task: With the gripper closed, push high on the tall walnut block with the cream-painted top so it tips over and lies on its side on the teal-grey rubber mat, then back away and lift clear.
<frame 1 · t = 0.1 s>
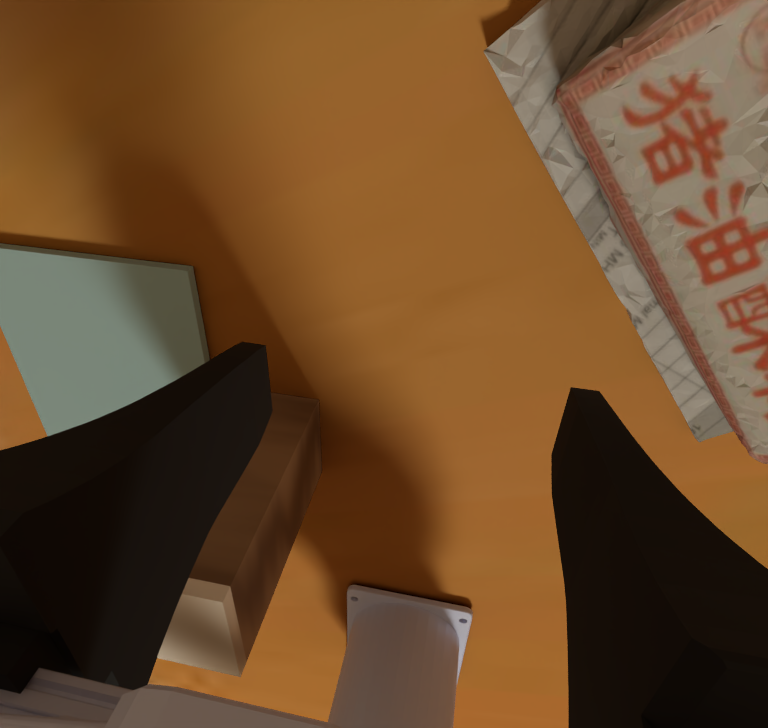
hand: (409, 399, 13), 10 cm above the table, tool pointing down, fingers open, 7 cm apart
walnut block: (274, 429, 28), on the table
mat: (122, 392, 29), on the table
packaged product: (741, 193, 19), on the table
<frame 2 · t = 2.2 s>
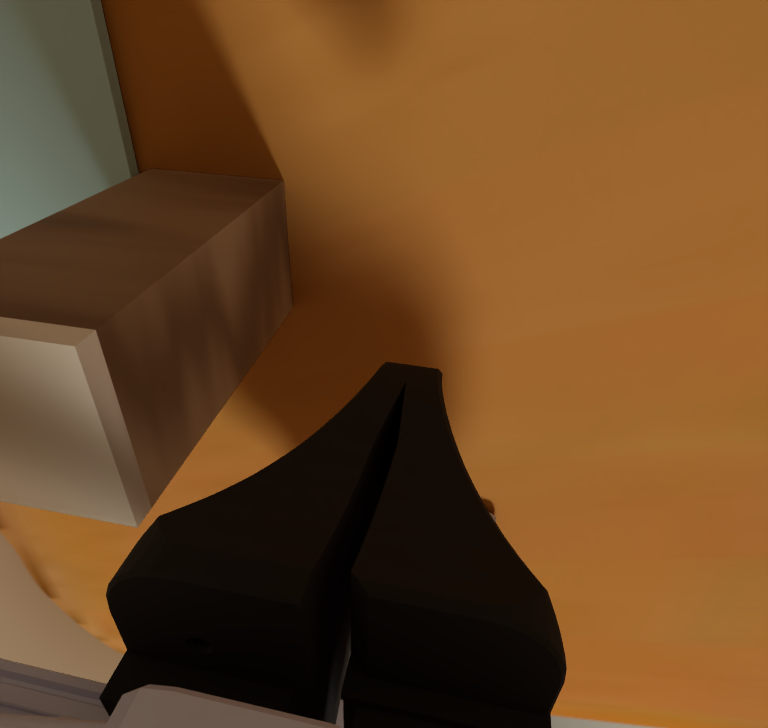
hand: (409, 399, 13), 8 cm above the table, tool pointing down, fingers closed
walnut block: (225, 241, 20), on the table
mat: (16, 195, 21), on the table
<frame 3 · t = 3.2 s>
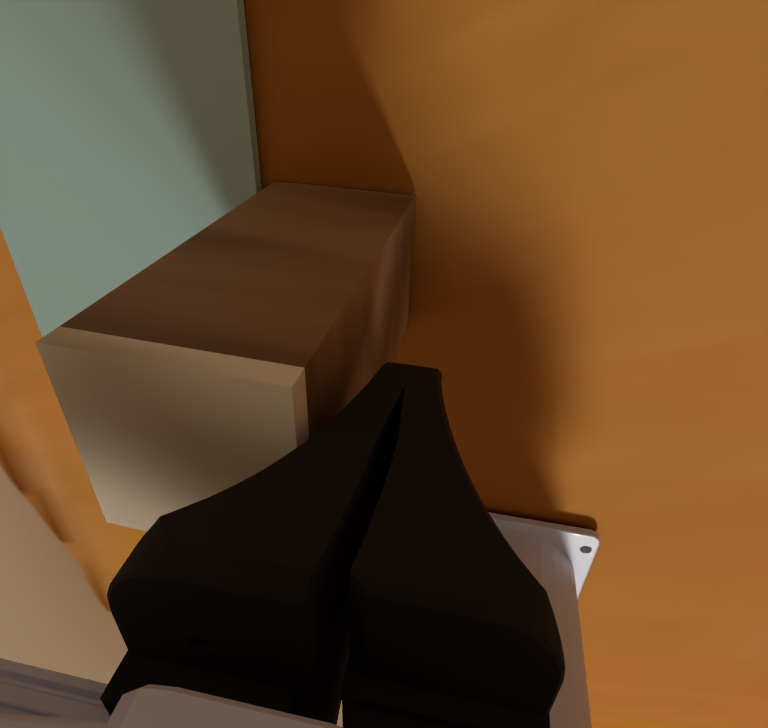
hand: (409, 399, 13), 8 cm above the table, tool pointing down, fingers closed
walnut block: (344, 256, 20), on the table
mat: (127, 208, 20), on the table
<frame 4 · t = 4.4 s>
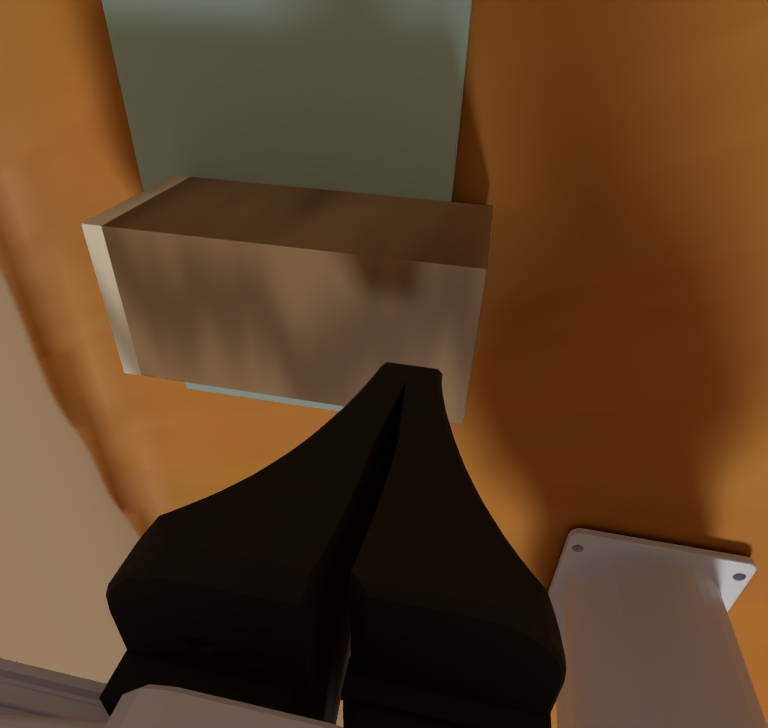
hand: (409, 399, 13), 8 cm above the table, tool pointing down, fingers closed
walnut block: (478, 311, 17), point 3 cm above the table, tilted 90°, touching mat
mat: (295, 224, 19), on the table
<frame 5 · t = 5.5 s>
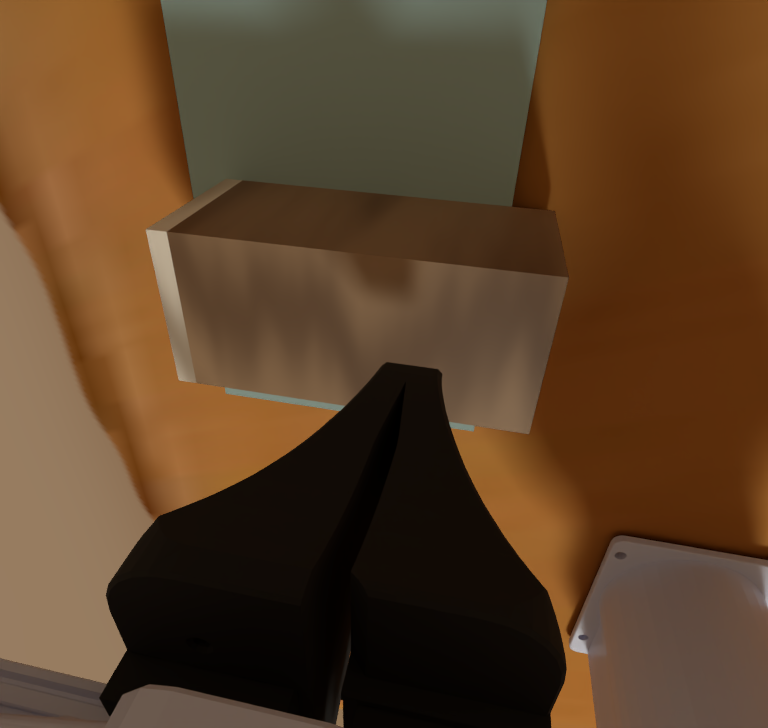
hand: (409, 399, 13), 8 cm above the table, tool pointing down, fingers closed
walnut block: (542, 318, 16), point 3 cm above the table, tilted 90°, touching mat
mat: (347, 228, 19), on the table
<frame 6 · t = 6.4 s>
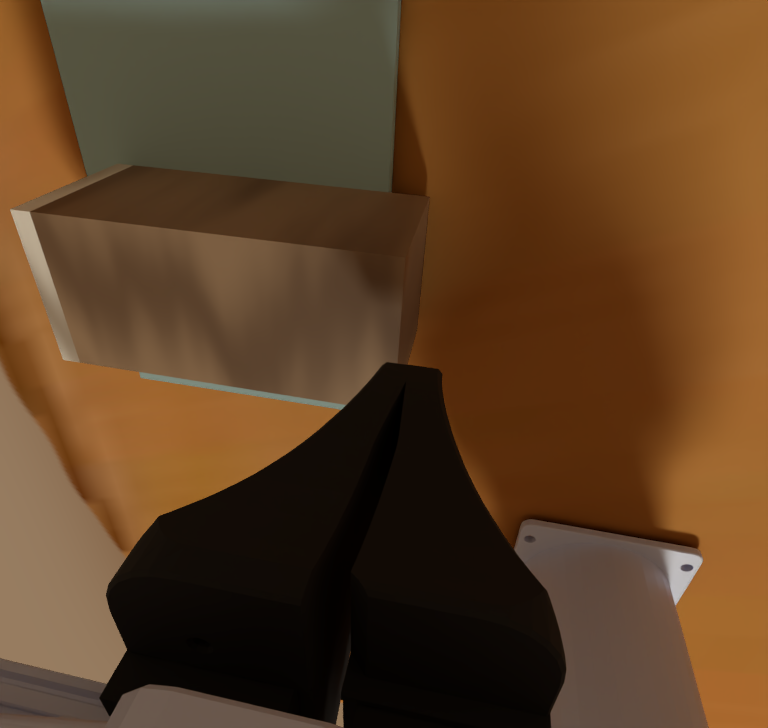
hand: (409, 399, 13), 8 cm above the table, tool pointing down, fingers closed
walnut block: (412, 300, 17), point 3 cm above the table, tilted 90°, touching mat
mat: (240, 214, 20), on the table
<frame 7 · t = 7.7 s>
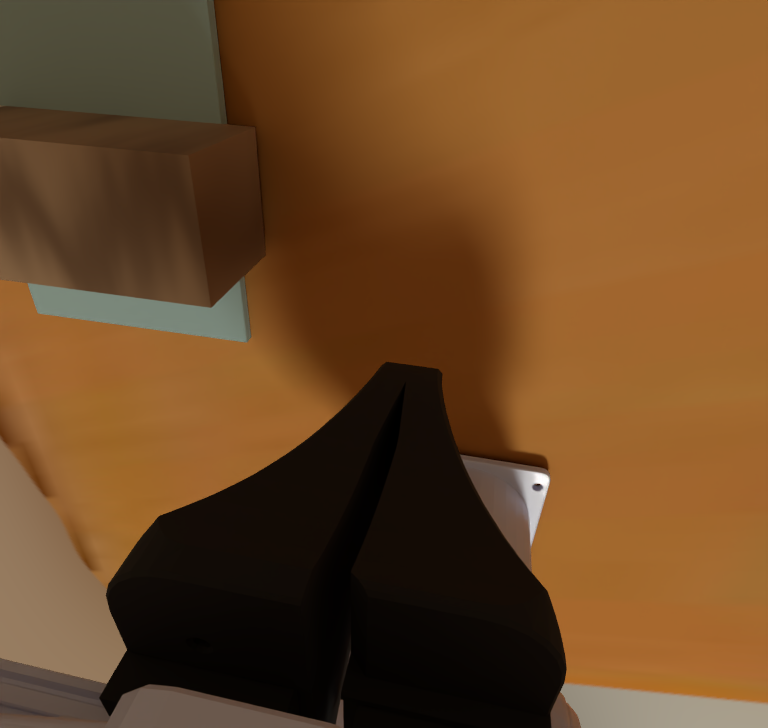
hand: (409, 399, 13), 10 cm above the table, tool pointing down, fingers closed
walnut block: (233, 214, 19), point 3 cm above the table, tilted 90°, touching mat
mat: (105, 151, 22), on the table
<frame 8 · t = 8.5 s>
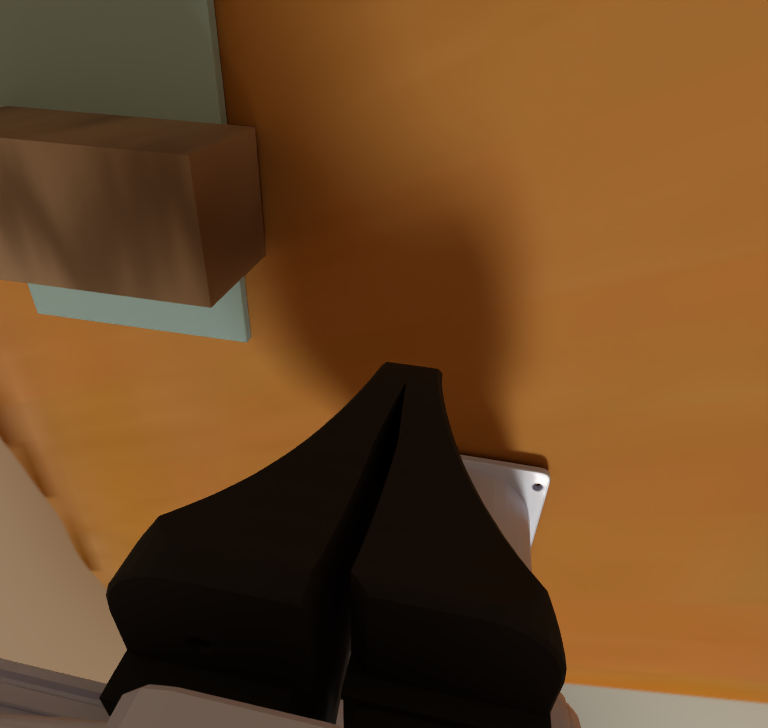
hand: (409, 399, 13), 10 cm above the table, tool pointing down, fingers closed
walnut block: (233, 214, 19), point 3 cm above the table, tilted 90°, touching mat
mat: (105, 151, 22), on the table
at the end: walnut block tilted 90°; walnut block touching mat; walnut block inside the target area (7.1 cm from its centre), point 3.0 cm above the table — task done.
